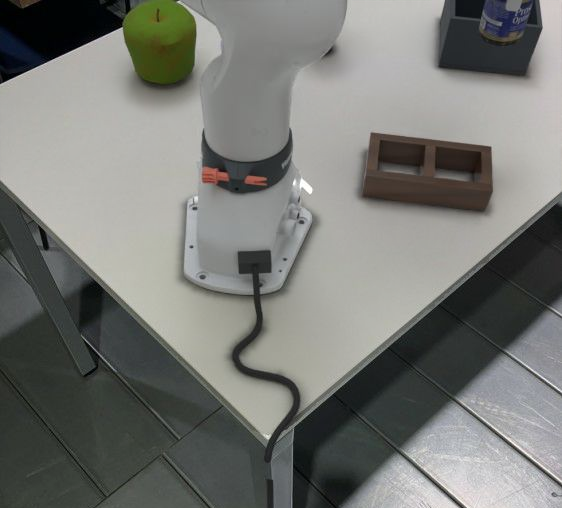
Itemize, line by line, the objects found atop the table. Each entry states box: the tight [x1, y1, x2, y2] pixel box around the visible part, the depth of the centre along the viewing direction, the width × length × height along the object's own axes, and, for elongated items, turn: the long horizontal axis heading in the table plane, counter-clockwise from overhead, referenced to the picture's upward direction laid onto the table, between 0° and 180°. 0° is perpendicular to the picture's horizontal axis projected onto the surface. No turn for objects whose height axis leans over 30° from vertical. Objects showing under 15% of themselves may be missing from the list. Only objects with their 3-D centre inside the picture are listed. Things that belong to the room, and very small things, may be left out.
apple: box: [121, 0, 198, 86], centre depth 106 cm, size 12×12×11 cm
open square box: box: [438, 0, 544, 77], centre depth 113 cm, size 16×16×9 cm
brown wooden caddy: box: [361, 131, 494, 212], centre depth 96 cm, size 10×19×4 cm, turn 81°
